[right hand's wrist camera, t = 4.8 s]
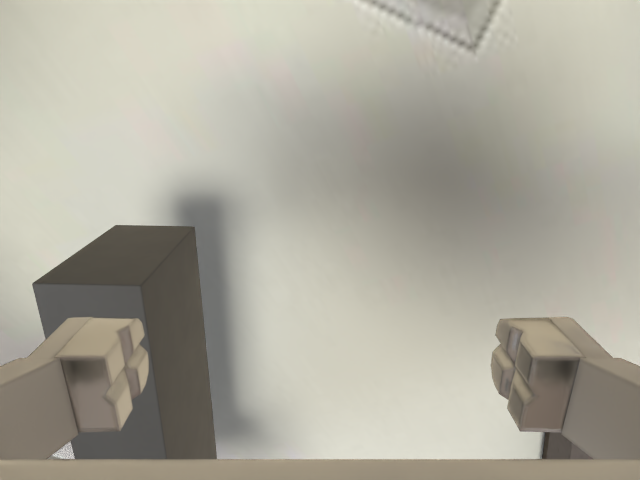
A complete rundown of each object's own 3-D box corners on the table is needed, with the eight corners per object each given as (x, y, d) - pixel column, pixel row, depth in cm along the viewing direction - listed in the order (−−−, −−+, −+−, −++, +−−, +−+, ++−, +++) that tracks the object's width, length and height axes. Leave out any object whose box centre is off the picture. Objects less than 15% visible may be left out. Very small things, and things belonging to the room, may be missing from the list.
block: (115, 224, 30) (31, 283, 22) (194, 226, 30) (140, 285, 22) (163, 519, 40) (118, 637, 32) (223, 521, 40) (193, 640, 31)
